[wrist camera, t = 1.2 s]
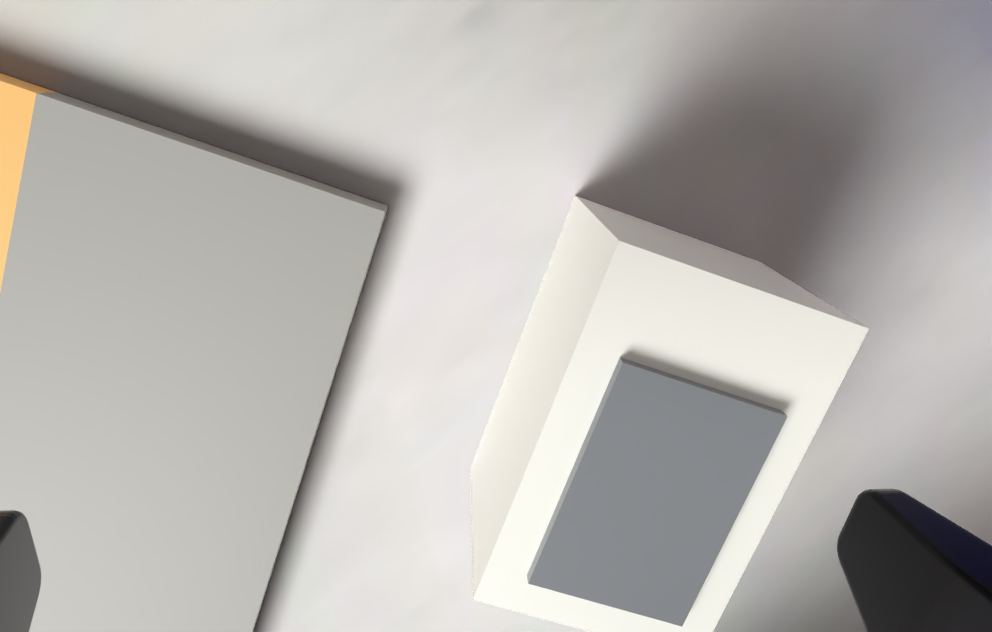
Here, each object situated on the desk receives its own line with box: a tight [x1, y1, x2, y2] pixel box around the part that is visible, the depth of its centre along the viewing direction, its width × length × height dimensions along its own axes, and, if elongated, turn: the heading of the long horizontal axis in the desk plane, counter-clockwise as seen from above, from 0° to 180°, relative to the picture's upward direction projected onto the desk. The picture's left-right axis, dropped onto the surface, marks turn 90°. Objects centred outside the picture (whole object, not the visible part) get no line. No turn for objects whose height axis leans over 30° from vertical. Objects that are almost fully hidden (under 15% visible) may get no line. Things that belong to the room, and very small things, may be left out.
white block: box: [470, 196, 869, 632], centre depth 16 cm, size 4×7×5 cm, turn 160°
